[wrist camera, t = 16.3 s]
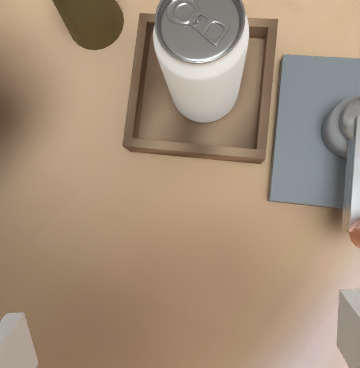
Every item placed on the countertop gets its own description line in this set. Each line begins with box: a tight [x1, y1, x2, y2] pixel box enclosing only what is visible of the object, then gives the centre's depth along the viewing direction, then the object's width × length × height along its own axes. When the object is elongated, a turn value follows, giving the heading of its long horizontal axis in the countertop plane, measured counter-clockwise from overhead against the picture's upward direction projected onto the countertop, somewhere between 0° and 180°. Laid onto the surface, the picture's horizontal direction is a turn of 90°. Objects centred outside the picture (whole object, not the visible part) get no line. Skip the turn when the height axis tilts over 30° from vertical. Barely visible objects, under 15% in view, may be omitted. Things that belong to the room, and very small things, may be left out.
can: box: [153, 0, 249, 123], centre depth 26 cm, size 6×6×12 cm
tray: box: [123, 13, 278, 164], centre depth 31 cm, size 13×13×3 cm
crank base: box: [268, 55, 360, 209], centre depth 29 cm, size 13×14×4 cm
